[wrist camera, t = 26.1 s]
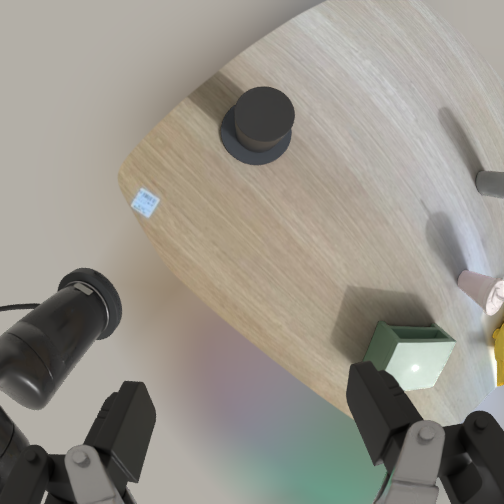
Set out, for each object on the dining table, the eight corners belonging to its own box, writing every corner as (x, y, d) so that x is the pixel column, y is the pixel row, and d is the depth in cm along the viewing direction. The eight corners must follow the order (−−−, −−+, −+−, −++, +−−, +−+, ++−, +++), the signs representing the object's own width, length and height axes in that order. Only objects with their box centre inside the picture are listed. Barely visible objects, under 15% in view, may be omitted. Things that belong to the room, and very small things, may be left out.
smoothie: (470, 256, 39) (522, 280, 25) (476, 280, 40) (523, 307, 27) (449, 278, 40) (501, 308, 26) (456, 301, 41) (503, 334, 28)
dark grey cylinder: (238, 154, 33) (236, 144, 24) (234, 113, 32) (232, 88, 22) (282, 151, 34) (297, 140, 24) (278, 110, 32) (291, 85, 22)
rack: (358, 369, 43) (373, 394, 36) (378, 320, 41) (398, 342, 34) (415, 367, 44) (432, 387, 38) (435, 323, 42) (456, 341, 35)
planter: (476, 167, 35) (517, 170, 25) (489, 174, 35) (528, 178, 25) (474, 191, 36) (515, 198, 26) (487, 197, 36) (526, 205, 26)
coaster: (224, 168, 34) (224, 168, 34) (218, 102, 32) (218, 101, 32) (294, 162, 34) (294, 162, 34) (287, 97, 32) (287, 97, 32)
